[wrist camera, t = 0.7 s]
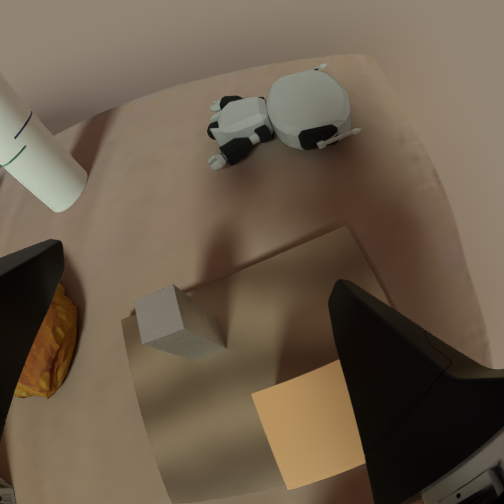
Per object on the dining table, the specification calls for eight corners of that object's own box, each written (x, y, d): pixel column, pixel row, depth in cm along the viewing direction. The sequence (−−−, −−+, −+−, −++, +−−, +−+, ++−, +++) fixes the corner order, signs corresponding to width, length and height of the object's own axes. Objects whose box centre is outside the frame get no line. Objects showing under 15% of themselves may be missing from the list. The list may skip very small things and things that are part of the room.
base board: (433, 415, 16) (438, 416, 15) (179, 500, 17) (172, 504, 16) (345, 232, 24) (346, 224, 23) (128, 323, 25) (121, 319, 24)
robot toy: (218, 192, 30) (367, 157, 26) (198, 164, 26) (366, 122, 23) (218, 118, 36) (335, 87, 32) (203, 91, 32) (329, 57, 28)
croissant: (12, 362, 29) (-36, 354, 22) (43, 257, 32) (-6, 235, 25) (66, 431, 23) (5, 435, 16) (106, 302, 26) (39, 281, 19)
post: (226, 348, 21) (184, 328, 15) (194, 360, 21) (142, 344, 15) (216, 316, 22) (173, 284, 16) (185, 328, 22) (133, 300, 16)
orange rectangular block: (374, 430, 16) (396, 448, 10) (300, 460, 16) (287, 490, 11) (347, 363, 19) (356, 351, 13) (274, 392, 19) (250, 394, 13)
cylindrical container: (96, 172, 36) (-17, 36, 14) (66, 217, 34) (-66, 88, 12) (70, 167, 38) (-29, 52, 17) (44, 207, 36) (-68, 98, 14)
